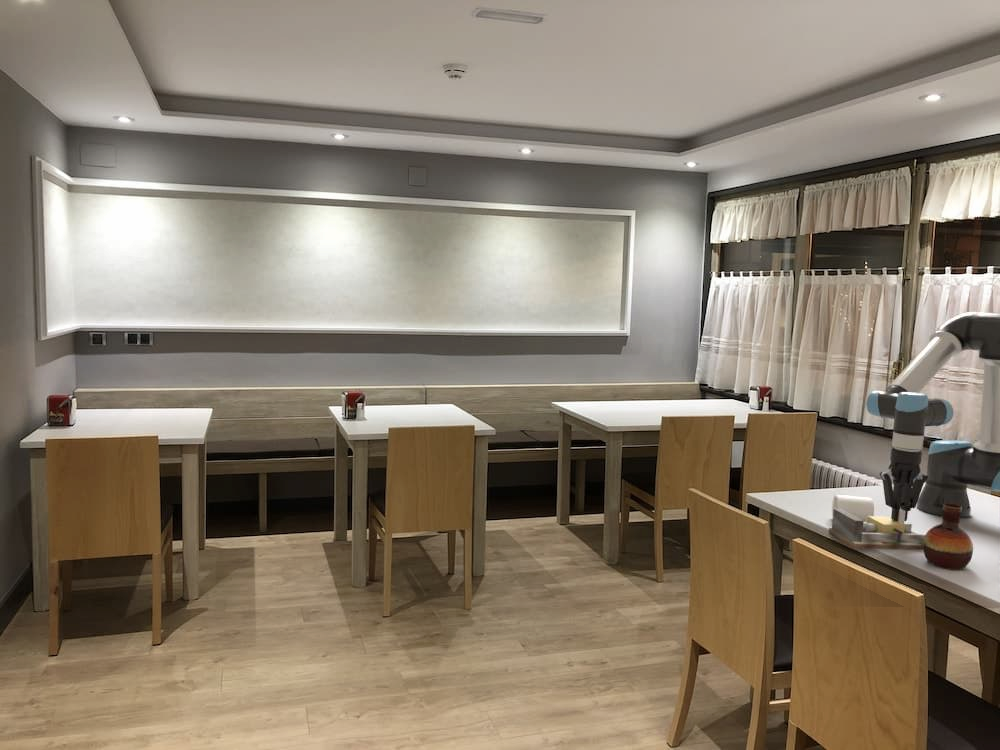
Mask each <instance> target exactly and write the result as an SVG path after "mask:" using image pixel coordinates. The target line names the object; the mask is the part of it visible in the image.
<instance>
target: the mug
mask: <svg viewBox="0 0 1000 750" xmlns="http://www.w3.org/2000/svg"><path fill="white" fill-rule="evenodd" d="M834 509H843V510H845V511H847V512H848V513H850V514H852V515H854V516H856V517H858V518H859V519H861V520H863V521H864V522H867V518H868V516H875V504H874V500H873V499H872V498H871V497H866V496H865V497H864V496H854V495H846V494H845V495H843V494H835V495H833V498H832V505H831V516H832V518H833V511H834Z"/></svg>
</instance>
